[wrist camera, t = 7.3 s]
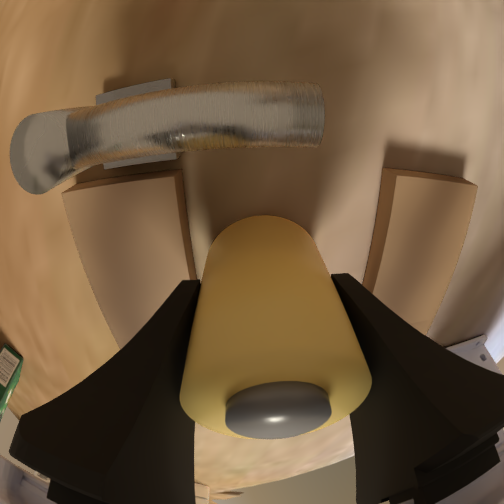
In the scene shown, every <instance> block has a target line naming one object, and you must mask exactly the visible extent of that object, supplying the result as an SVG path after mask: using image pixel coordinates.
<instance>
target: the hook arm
mask: <svg viewBox="0 0 504 504" xmlns="http://www.w3.org/2000/svg"><path fill="white" fill-rule="evenodd" d="M324 121H325V109H324V99H323V94H322V91H321V88H320V86H319V85H318V84H317V83H307V82H285V81H248V82H227V83H213V84H203V85H194V86H186V87H178V88H175V80H174V79H171V78H169V79H163V80H157V81H152V82H147V83H142V84H138V85H133V86H129V87H125V88H121V89H117V90H114V91H110V92H106V93H103V94H100V95H96V106H87V107H77V108H69V109H61V110H55V111H48V112H43V113H37V114H32V115H29V116H27V117H26V118H24V119H23V120H22V121H21V122H20V123H19V125H18V126H17V128H16V130H15V132H14V134H13V137H12V140H11V145H10V163H11V168H12V171H13V174H14V176H15V178H16V180H17V182H18V183H19V185H20V186H21V187H22V188H23V189H24V190H26V191H27V192H29V193H31V194H43V193H45V192H47V191H49V190H50V189H52V188H54V187H56V186H57V185H59V184H61V183H62V182H64V181H66V180H68V179H70V178H71V177H73V176H75V175H77V174H79V173H81V172H83V171H84V170H86V169H88V168H90V167H92V166H94V165H99V164H103V165H104V170H105V169H110V168H116V167H122V166H128V165H135V164H142V163H149V162H157V161H165V160H174V159H177V158H179V157H180V152H187V151H197V150H210V149H225V148H245V147H318V146H319V144H320V142H321V140H322V136H323V131H324Z"/></svg>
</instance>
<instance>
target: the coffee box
mask: <svg viewBox="0 0 504 504" xmlns="http://www.w3.org/2000/svg"><path fill="white" fill-rule="evenodd" d="M22 363H23V358H22V357H21V356H19V355H18V354H17V353H16V352H15V351H14V350H13V349H11V348H10V347H9V346H8V345H7V344H6V343H5V344H4V345H3V347H2V348H1V350H0V421H1V419H2V416H3V414H4V411H5V409H6V407H7V405H8V402H9V400H10V398H11V396H12V393H13V391H14V389H15V387H16V385H17V383H18V381H19V377H20V372H21V368H22Z"/></svg>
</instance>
